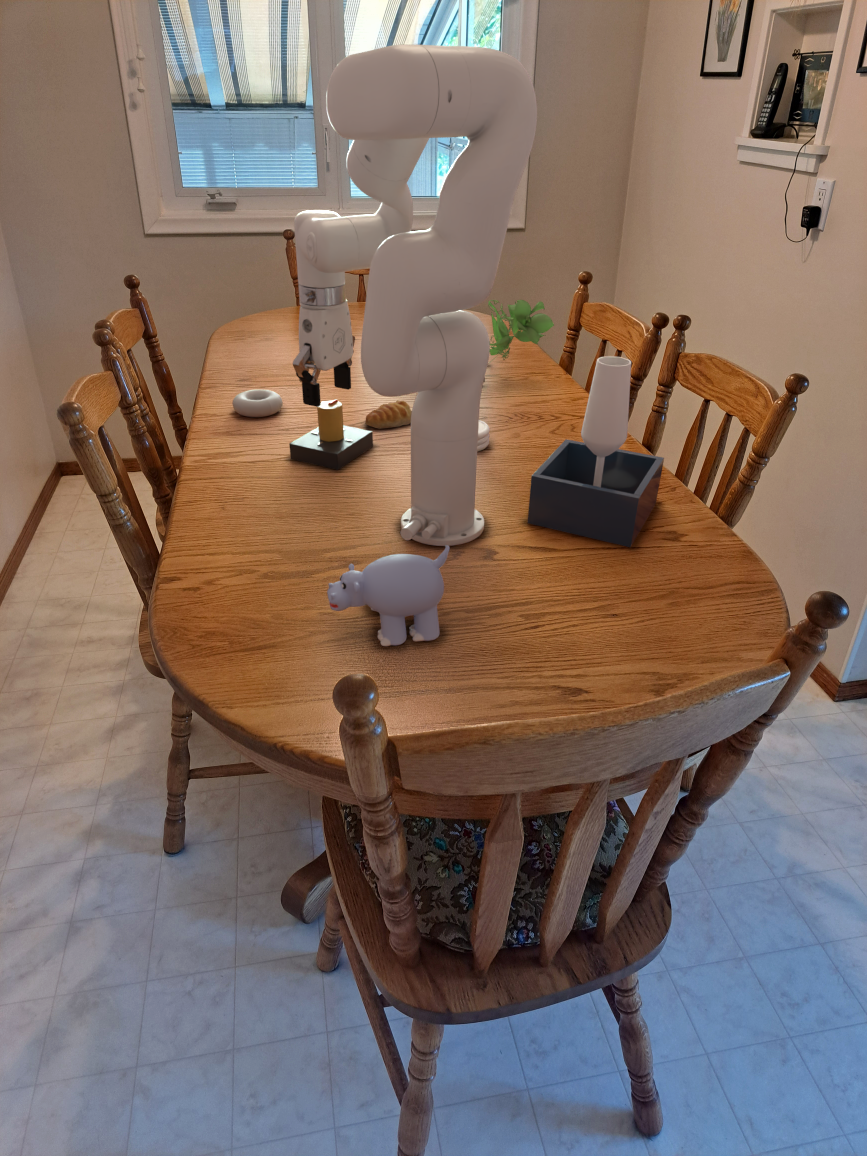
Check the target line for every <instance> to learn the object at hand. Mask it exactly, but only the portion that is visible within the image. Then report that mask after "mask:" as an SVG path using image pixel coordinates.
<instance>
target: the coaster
mask: <svg viewBox="0 0 867 1156" xmlns="http://www.w3.org/2000/svg"><path fill="white" fill-rule="evenodd" d="M490 431H491V428H490V425H489V424H488V423H487V422H485V421H483V420H481V419H479V427H478V445H477V452H481V451H483V450H484V449H486V448H487V447H488V446H489V444H490Z"/></svg>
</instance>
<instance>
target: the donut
mask: <svg viewBox="0 0 867 1156" xmlns="http://www.w3.org/2000/svg"><path fill="white" fill-rule="evenodd" d="M282 407H283V399H282V396H281V395H280V394H279V393H277V392H276V391H273V390H270V389H264V388H263V389H262V388H259V389H258V388H257V389H249V390H244V391H242V392H240V393H238V394H236V395H235V396H234V398H233V399H232V408H233V410H234V411H235V412H236V413H237V414H239V415H240V416H244V417H247V418H265V417H270V416H273V415H274V414H277V413H278V412H279V411H280V410H281V409H282Z"/></svg>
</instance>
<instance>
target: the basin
mask: <svg viewBox="0 0 867 1156" xmlns="http://www.w3.org/2000/svg"><path fill="white" fill-rule="evenodd" d="M596 460H597V456H596V455H595V454H593V453H592V451H591V450H590V449H589V448H588V447H587V446H586V445H585V443H584V441H578V440H572V439H564V440H563V441H562V443H561V444H560V445H559V446H558V447H557V448H556V449H555V450H554V451H553V452H552V454H550V455H549V456H548V457H547V458H546V460H545V461H544V462H542V464H541V465H540V466H539V467H538V468H537V469H536V470H535V471H534V472H533V473H532V474H531V478H530V486H529V487H530V488H529V499H528V500H529V501H528V509H527V510H528V512H527V524H529V525H534V526H537V527H541V528H546V529H551V530H555V531H559V532H562V533H567V534H570V535H571V534H572V535H575V536H580V537H584V538H589V539H593V540H596V541H601V542H605V543H611V544H614V545H619V546H624V547H627V548H631V547H632V546H633V544H634V542H635V541H636V539H637V538H638V536H639V534H640V532H641V531H642V529H643V527H644V526H645V523H646V522H647V520H648V518H649V516H651V513H652V511H653V510H654V508H655V506H656V504H657V499H658V495H659V488H660V484H661V477H662V472H663V467H664V461H665V457H663V456H657V455H653V454H648V453H647V454H646V453H641V452H636V451H630V450H625V449H621V448H619V449H618V450H616V451H615V452H613V453H612V454H610V455H608V456H606V457H605V460H604V467H603V474H602V481H601V487H597V486H593V483H594V475H595V468H596Z"/></svg>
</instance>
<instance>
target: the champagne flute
mask: <svg viewBox="0 0 867 1156" xmlns="http://www.w3.org/2000/svg"><path fill="white" fill-rule="evenodd" d="M631 372H632V361H631V360H630V359H628V358H627V357H621V356H616V355H606V356H600V357H598V358H596V362H595V368H594V372H593V377H592V381H591V386H590V390H589V395H588V399H587V404H586V407H585V413H584V417H583V418H584V419H583V422H582V426H581V431H580V436H581V439H582V442H583V443H585V445H586V446H587V447H588V448H589V449H590V450H591V451H592V453H593V454H595V455H596V456H597V460H596V468H595V475H594V483H593V486H597V487H601V481H602V474H603V467H604V460H605V457H606V456H608V455H610V454H612V453H613V452H615V451H616V450H618V449H621V447H622V446H623V445H624V444H625V443H626V441H627V439H628V431H629V430H628V428H629V414H630V413H629V411H630V395H631V394H630V392H631V391H630V390H631V375H632V373H631Z"/></svg>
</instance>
